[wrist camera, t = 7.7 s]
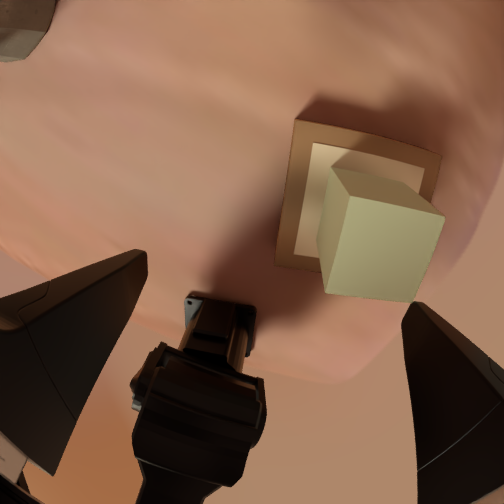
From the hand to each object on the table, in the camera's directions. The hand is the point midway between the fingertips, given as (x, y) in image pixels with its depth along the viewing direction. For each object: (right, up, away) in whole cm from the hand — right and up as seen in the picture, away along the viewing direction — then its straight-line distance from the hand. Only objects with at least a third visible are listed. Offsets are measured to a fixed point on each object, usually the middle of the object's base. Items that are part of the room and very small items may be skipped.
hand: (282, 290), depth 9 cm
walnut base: (+6, +5, +11) cm, 14 cm away
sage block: (+6, +4, +9) cm, 11 cm away
